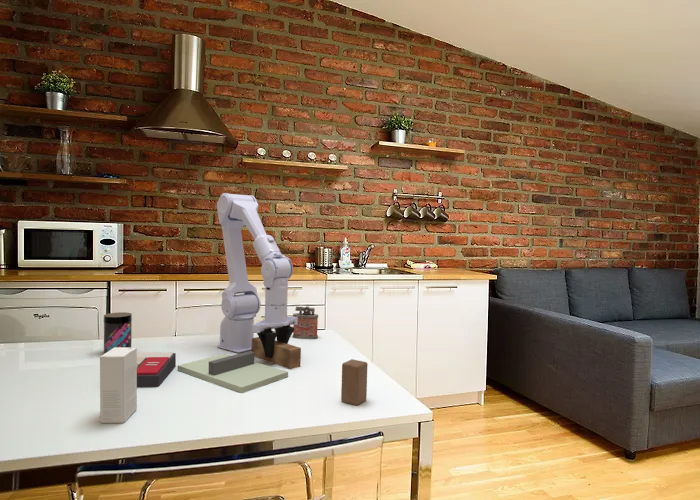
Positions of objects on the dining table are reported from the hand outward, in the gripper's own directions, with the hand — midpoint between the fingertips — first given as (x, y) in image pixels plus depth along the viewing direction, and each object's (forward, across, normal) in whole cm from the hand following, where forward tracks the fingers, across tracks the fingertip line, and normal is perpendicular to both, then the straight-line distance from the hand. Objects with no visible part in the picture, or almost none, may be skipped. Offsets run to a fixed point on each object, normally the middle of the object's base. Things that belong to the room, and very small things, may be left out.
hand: (275, 355), depth 120 cm
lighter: (+2, +24, +11) cm, 26 cm away
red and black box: (+2, -28, +14) cm, 32 cm away
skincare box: (+2, -43, -4) cm, 43 cm away
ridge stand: (+1, -14, 0) cm, 14 cm away
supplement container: (+2, -23, +36) cm, 43 cm away
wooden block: (+2, -9, -32) cm, 33 cm away
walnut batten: (+2, 0, 0) cm, 2 cm away
